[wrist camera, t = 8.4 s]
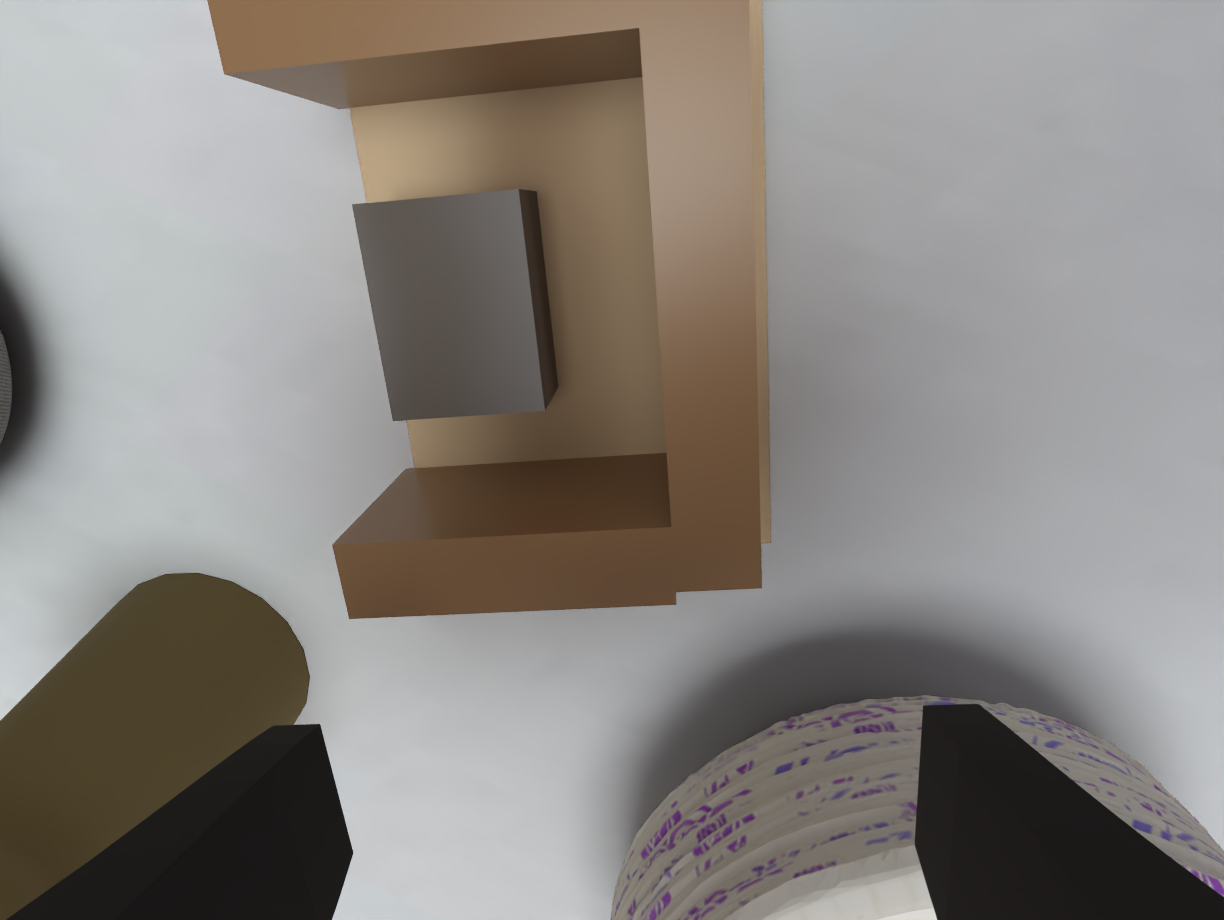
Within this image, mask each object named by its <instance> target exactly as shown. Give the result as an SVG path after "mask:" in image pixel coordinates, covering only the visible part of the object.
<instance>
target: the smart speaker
mask: <svg viewBox="0 0 1224 920" xmlns="http://www.w3.org/2000/svg"><path fill="white" fill-rule="evenodd" d="M11 402H12V376H11V367H10V361H9V356H8V352H7V348H6V344H5V340H4V337H3V334H2V331H1V329H0V443H1V441H2V439H3V437H4V434H5V431H6V429H7V425H8V421H9V416H10V411H11Z"/></svg>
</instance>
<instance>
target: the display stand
mask: <svg viewBox="0 0 1224 920" xmlns="http://www.w3.org/2000/svg"><path fill="white" fill-rule="evenodd" d="M749 10H750V57H751V103H752V150H753V196H754V243H755V289H756V336H757V382H758V429H759V475H760V522H761V544H763V543H771V508H770V448H769V388H768V328H767V268H766V207H765V147H764V87H763V27H762V0H749ZM349 109H350V114H351V120H352V125H353V131H354V136H355V142H356V147H357V153H358V158H359V164H360V169H361V175H362V180H363V186H364V191H365V197H366V202H367V203H363V204H353V205H352V206H353V212H354V217H355V222H356V227H357V233H358V238H359V243H360V249H361V254H362V259H363V265H364V270H365V275H366V280H367V286H368V291H369V296H370V302H371V307H372V312H373V318H374V323H375V328H376V333H377V339H378V344H379V349H380V355H381V360H382V365H383V371H384V376H385V381H386V386H387V392H388V397H389V402H390V408H391V413H392V418H393V421H403V420H406V421H407V427H408V432H409V438H410V443H411V449H412V454H413V460H414V465H415V468H426V467H442V466H458V465H475V464H491V463H507V462H523V461H540V460H556V459H572V458H589V457H605V456H621V455H637V454H654V453H667V452H666V436H665V421H664V405H663V390H662V374H661V358H660V343H659V327H658V312H657V296H656V281H655V265H654V250H653V234H652V219H651V203H650V188H649V172H648V157H647V141H646V126H645V110H644V95H643V79H642V77H639V78H629V79H620V80H610V81H601V82H591V83H582V84H572V85H563V86H553V87H544V88H534V89H525V90H515V91H506V92H496V93H487V94H477V95H468V96H458V97H449V98H439V99H430V100H420V101H411V102H401V103H392V104H382V105H373V106H363V107H354V108H349Z"/></svg>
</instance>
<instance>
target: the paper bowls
mask: <svg viewBox="0 0 1224 920" xmlns="http://www.w3.org/2000/svg"><path fill="white" fill-rule="evenodd" d="M952 704H979V705H981V706H982V707H983V708H985V709H986V710H987V711H988V712H990V713H991V714H992V715H993V716H995V717H996V718H997V719H998V720H1000V721H1001V722H1002V723H1003V724H1005V725H1006V726H1007V727H1008V728H1010V729H1011V730H1012V731H1013V732H1014V733H1016V734H1017V735H1018V736H1019V737H1020V738H1022V739H1023V740H1024V741H1025V742H1027V743H1028V744H1029V745H1030V746H1031V747H1033V748H1034V749H1035V750H1036V751H1038V752H1039V753H1040V754H1041V755H1042V756H1044V757H1045V758H1046V759H1047V760H1048V761H1050V762H1051V763H1052V764H1053V765H1055V766H1056V767H1057V768H1058V769H1060V770H1061V771H1062V772H1063V773H1064V774H1066V775H1067V776H1068V777H1069V778H1071V779H1072V780H1073V781H1074V782H1075V783H1077V784H1078V785H1079V786H1080V787H1082V788H1083V789H1084V790H1085V791H1087V792H1088V793H1089V794H1090V795H1092V796H1093V797H1094V798H1095V799H1097V800H1098V801H1099V802H1100V803H1102V804H1103V805H1104V806H1105V807H1107V808H1108V809H1109V810H1110V811H1112V812H1113V813H1114V814H1115V815H1117V816H1118V817H1119V818H1120V819H1122V820H1123V821H1124V822H1126V823H1127V824H1128V825H1129V826H1131V827H1132V828H1133V829H1135V830H1136V831H1137V832H1138V833H1140V834H1141V835H1142V836H1143V837H1145V838H1146V839H1147V840H1149V841H1150V842H1151V843H1153V844H1154V845H1155V846H1156V847H1158V848H1159V849H1160V850H1162V851H1163V852H1164V853H1166V854H1167V855H1168V856H1169V857H1171V858H1172V859H1173V860H1175V861H1176V862H1177V863H1179V864H1180V865H1181V866H1183V867H1184V868H1185V869H1187V870H1188V871H1189V872H1191V873H1192V874H1193V875H1195V876H1196V877H1197V878H1199V879H1200V880H1201V881H1203V882H1204V883H1205V884H1207V885H1208V886H1209V887H1211V888H1212V889H1213V890H1215V891H1216V892H1218V893H1219V894H1220V895H1222V896H1223V897H1224V851H1223V850H1222V849H1221V847H1220V846H1219V844H1218V843H1216V842H1215V841H1214V840H1213V839H1212V837H1211V836H1210V835H1209V833H1208V831H1207V830H1206V829H1205V828H1204V827H1203V826H1202V825H1201V824H1200V823H1199V822H1198V821H1197V820H1196V819H1195V818H1194V817H1193V816H1192V815H1191V814H1190V812H1188V811H1187V809H1186V808H1185V807H1184V806H1183V805H1182V804H1181V803H1180V802H1179V801H1178V800H1177V799H1176V798H1174V797H1173V796H1172V795H1171V794H1170V793H1169V792H1168V791H1167V790H1166V789H1165V788H1164V787H1163V786H1162V785H1161V783H1160V782H1158V781H1157V780H1156V779H1155V778H1154V777H1153V776H1152V775H1151V774H1150V773H1149V772H1148V771H1147V770H1146V769H1145V768H1144V767H1143V766H1142V765H1141V764H1139V763H1138V762H1136V761H1135V760H1133V759H1132V758H1130V757H1129V756H1128V755H1127V754H1126V753H1124V752H1123V751H1121V750H1120V749H1118V748H1117V747H1115V746H1114V745H1112V744H1111V743H1110V742H1108V741H1107V740H1105V739H1103V738H1099V737H1097V736H1095V735H1093V734H1091V733H1089V732H1087V731H1085V730H1083V729H1081V728H1080V727H1077V726H1075V725H1073V724H1068V723H1066V722H1064V721H1063V720H1061V719H1059V718H1055V717H1051V716H1047V715H1043V714H1040V713H1038V712H1036V711H1034V710H1030V709H1026V708H1014V707H1012V706H1010V705H1008V704H1006V703H998V704H995V705H993V704H989V703H987V702H985V701H981V700H971V699H961V698H955V697H953V698H951V697H939V696H929V695H922V696H916V697H892V698H889V699H878V700H877V699H866V700H862V701H860V702H856V703H850V704H837V705H833V706H830V707H828V708H825V709H821V710H815V711H813V712H809V713H807V714H806V713H804V714H801V715H799V717H791V718H790V719H789V721H780V722H777V723H774V724H773V725H772V726H771V727H770V728H768V729H766V730H763V731H761V732H759V733H757V734H756V735H754V736H752V737H750V738H748V739H747V740H745V741H743V742H741V743H738V744H736V745H734V746H732V747H730V748H729V749H727V750H725V751H724V752H722V753H720V754H719V755H718V756H716V757H715V758H714V759H712V760H711V761H709V762H708V763H707V764H706V765H704V766H703V767H702V768H701V769H699V770H698V771H696V772H694V773H692V774H690V775H689V776H688V778H687V779H686V780H685V781H684V782H682V783H681V784H680V785H679V786H678V787H677V788H676V789H675V790H673V791H672V792H670V793H669V794H668V795H667V797H666V798H665V799H664V800H663V801H662V803H661V804H660V805H659V806H658V807H657V808H656V809H655V811H654V812H653V813H652V814H651V815H650V817H649V818H648V819H647V820H646V822H645V823H644V824H643V826H642V827H641V828H640V830H639V831H638V833H637V834H636V836H635V838H634V840H633V842H632V844H631V846H630V848H629V850H628V852H627V854H626V857H625V860H624V863H623V866H622V869H621V871H620V874H619V877H618V880H617V884H616V887H615V893H614V898H613V904H612V913H611V920H937V917H936V914H935V911H934V908H933V904H932V901H931V898H930V895H929V892H928V888H927V885H926V881H925V878H924V875H923V871H922V868H921V865H920V861H919V858H918V855H917V851H916V848H915V827H916V811H917V795H918V779H919V763H920V747H921V730H922V714H923V705H952Z"/></svg>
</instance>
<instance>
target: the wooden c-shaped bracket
mask: <svg viewBox="0 0 1224 920" xmlns="http://www.w3.org/2000/svg"><path fill="white" fill-rule="evenodd" d="M207 1H208V5H209V10H210V14H211V18H212V23H213V27H214V31H215V36H216V40H217V44H218V49H219V53H220V57H221V62H222V66H223V71H224V74H226V75H229V76H233V77H236V78H239V79H242V80H246V81H249V82H252V83H255V84H259V85H262V86H265V87H268V88H272V89H275V90H278V91H281V92H285V93H288V94H291V95H295V96H298V97H301V98H304V99H308V100H311V101H314V102H317V103H321V104H324V105H327V106H330V107H334V108H337V109H344V108H354V107H363V106H373V105H382V104H392V103H401V102H411V101H420V100H430V99H439V98H449V97H458V96H468V95H477V94H487V93H496V92H506V91H515V90H525V89H534V88H544V87H553V86H563V85H572V84H582V83H591V82H601V81H610V80H620V79H629V78H639V77H642V79H643V95H644V110H645V126H646V141H647V157H648V172H649V188H650V203H651V219H652V234H653V250H654V265H655V281H656V296H657V312H658V327H659V343H660V358H661V374H662V390H663V405H664V421H665V436H666V452H667V453H654V454H637V455H621V456H605V457H589V458H572V459H556V460H540V461H523V462H507V463H491V464H475V465H458V466H442V467H426V468H409V469H405V470H404V471H403V472H402V473H401V474H400V475H399V477H398V478H397V479H396V480H395V481H394V482H393V483H392V484H391V485H390V486H389V487H388V488H387V489H386V490H385V491H384V492H383V493H382V494H381V495H380V496H379V497H378V498H377V499H376V500H375V501H374V502H373V503H372V504H371V505H370V506H369V508H368V509H367V510H366V511H365V512H364V513H363V514H362V515H361V516H360V517H359V518H358V519H357V520H356V521H355V522H354V523H353V524H352V525H351V526H350V527H349V528H348V529H347V530H346V531H345V532H344V533H343V534H342V535H341V536H340V538H339V539H338V540H337V541H336V542H335V543H334V544H333V545H332V546H333V550H334V554H335V559H336V563H337V567H338V572H339V576H340V581H341V585H342V589H343V594H344V598H345V602H346V607H347V611H348V615H349V619H357V618H380V617H403V616H426V615H449V614H472V613H495V612H518V611H540V610H563V609H586V608H609V607H632V606H655V605H676V592H688V591H710V590H732V589H754V588H762V569H761V522H760V475H759V429H758V382H757V336H756V289H755V243H754V196H753V150H752V103H751V57H750V10H749V0H207Z"/></svg>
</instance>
